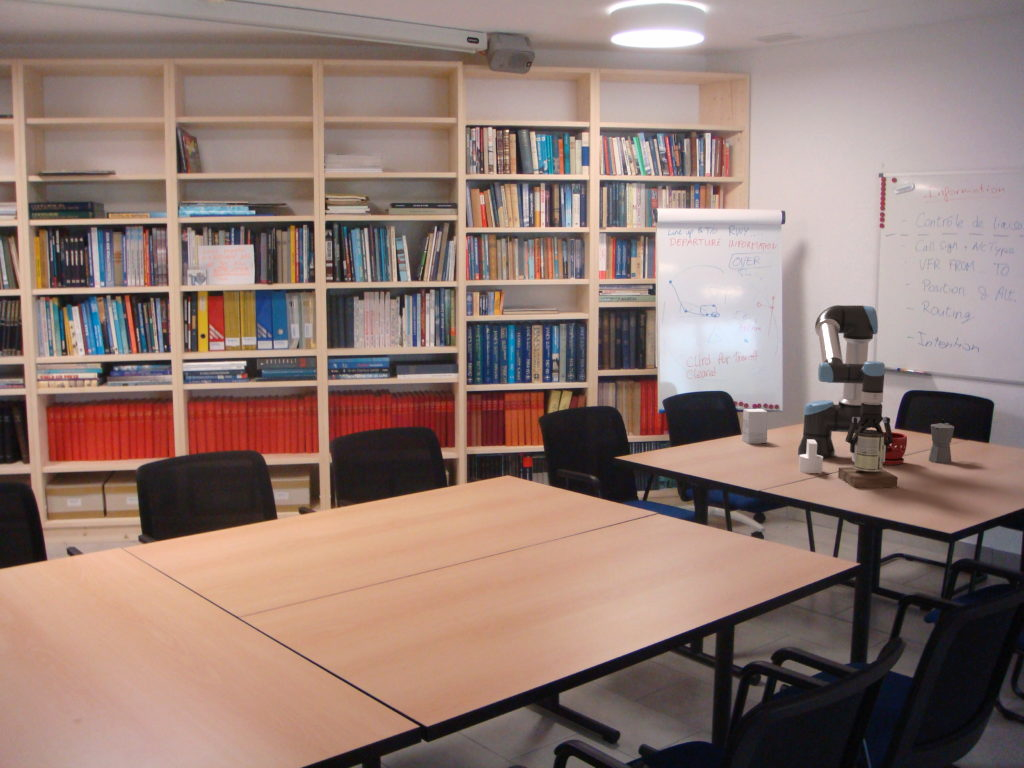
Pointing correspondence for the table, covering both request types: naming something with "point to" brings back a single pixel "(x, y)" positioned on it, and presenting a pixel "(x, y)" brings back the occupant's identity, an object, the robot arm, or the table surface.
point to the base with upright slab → (811, 459)
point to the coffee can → (869, 451)
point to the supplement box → (755, 426)
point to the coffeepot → (941, 442)
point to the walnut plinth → (867, 478)
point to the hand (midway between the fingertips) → (868, 461)
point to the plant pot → (896, 449)
